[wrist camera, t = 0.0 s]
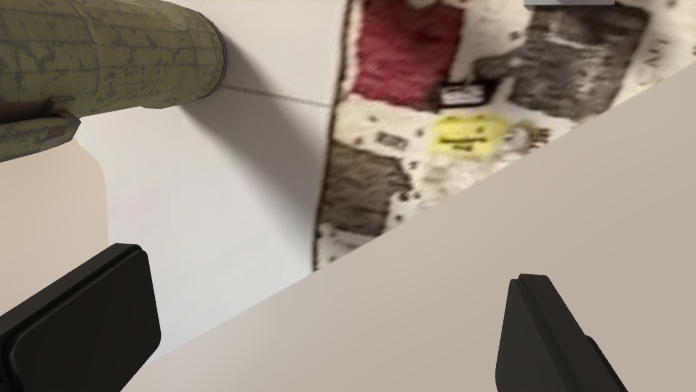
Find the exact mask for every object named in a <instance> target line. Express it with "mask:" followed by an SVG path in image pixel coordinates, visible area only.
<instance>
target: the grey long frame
mask: <svg viewBox="0 0 696 392" xmlns="http://www.w3.org/2000/svg"><path fill="white" fill-rule="evenodd" d="M613 4H615V0H524V5H613Z"/></svg>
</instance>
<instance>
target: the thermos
mask: <svg viewBox="0 0 696 392" xmlns="http://www.w3.org/2000/svg"><path fill="white" fill-rule="evenodd" d="M226 68H227V51H226V47H225V44H224V41H223V38H222V36H221V34H220V32H219V31H218V30H217V28H216V27H215V25H214V24H213V22H211V21H210V20H209V19H208V18H206V17H205V16H204V15H203V14H201V13H199V12H196V11H194V10H191V9H188V8H185V7H182V6H179V5H177V4H174V3H171V2H166V1H162V0H0V162H4V161H8V160H12V159H16V158H19V157H23V156H27V155H31V154H34V153H38V152H41V151H45V150H48V149H51V148H54V147H57V146H59V145H62V144H64V143H66V142H69V141H71V140H72V138H73V136H74V135H75V133H76V131H77V129H78V127H79V125H80V124H81V121H80V120H79V119H80V118H81V117H85V116H90V115H95V114H101V113H106V112H111V111H117V110H122V109H127V108H133V107H138V106H141V107H144V108H152V109H162V108H167V107H172V106H176V105H181V104H185V103H188V102H191V101H194V100H197V99H200V98H203V97H206V96H209V95H210V94H211V93H212V92H213V91H215V90H216V89H217V88H218V87H219V85H220V83H221V82H222V80H223V78H224V76H225V72H226Z"/></svg>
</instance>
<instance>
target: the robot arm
mask: <svg viewBox="0 0 696 392" xmlns="http://www.w3.org/2000/svg"><path fill="white" fill-rule="evenodd" d="M160 341H161V330H160V324H159V318H158V312H157V306H156V301H155V295H154V289H153V283H152V277H151V272H150V266H149V260H148V255H147V253H146V252H145V251H144V250H142V248H141V247H140V246H139V245H136V244H123V243H115V244H113V245H111V246H110V247H108V248H106V249H105V250H104V251H102V252H100V253H99V254H97V255H95V256H94V257H92V258H91V259H90V260H88V261H86V262H85V263H83V264H82V265H80V266H78V267H77V268H75V269H74V270H72V271H70V272H69V273H67V274H66V275H64V276H63V277H61V278H60V279H58V280H56V281H55V282H53V283H52V284H50V285H49V286H47V287H46V288H44V289H42V290H41V291H39V292H38V293H36V294H35V295H33V296H31V297H30V298H28V299H27V300H25V301H24V302H22V303H21V304H19V305H17V306H16V307H14V308H13V309H11V310H10V311H8V312H6V313H5V314H3V315H2V316H0V392H120V391H121V390H122V389H123V387H124V386H125V385H126V384H127V383H128V382H129V381H130V380H131V378H132V377H133V376H134V375H135V374H136V373H137V371H138V370H139V369H140V368H141V367H142V366H143V364H144V363H145V362H146V361H147V360H148V359H149V357H150V356H151V355H152V354H153V353H154V352H155V350H156V349H157V348H158V346H159V344H160ZM495 379H496V386H497V390H498V392H628V391H627V389H626V388H625V386H624V385H623V383H622V382H621V380H620V379H619V377H618V376H617V374H616V373H615V371H614V370H613V368H612V367H611V365H610V364H609V362H608V360H607V359H606V357H605V356H604V354H603V353H602V351H601V350H600V349H599V347H598V345H597V344H596V342H595V341H594V340H593V339H592V338H591V337H589V336H587V335H585V334H584V333H583V331H582V329H581V328H580V326H579V325H578V323H577V322H576V320H575V318H574V317H573V315H572V314H571V312H570V311H569V309H568V307H567V306H566V304H565V303H564V301H563V300H562V298H561V296H560V295H559V293H558V292H557V290H556V289H555V287H554V285H553V284H552V282H551V281H550V279H549V278H548V277H547V276H545V275H533V274H520V275H519V277H518V279H511V281H510V284H509V290H508V296H507V302H506V308H505V314H504V320H503V326H502V333H501V339H500V345H499V351H498V357H497V363H496V370H495Z"/></svg>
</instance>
